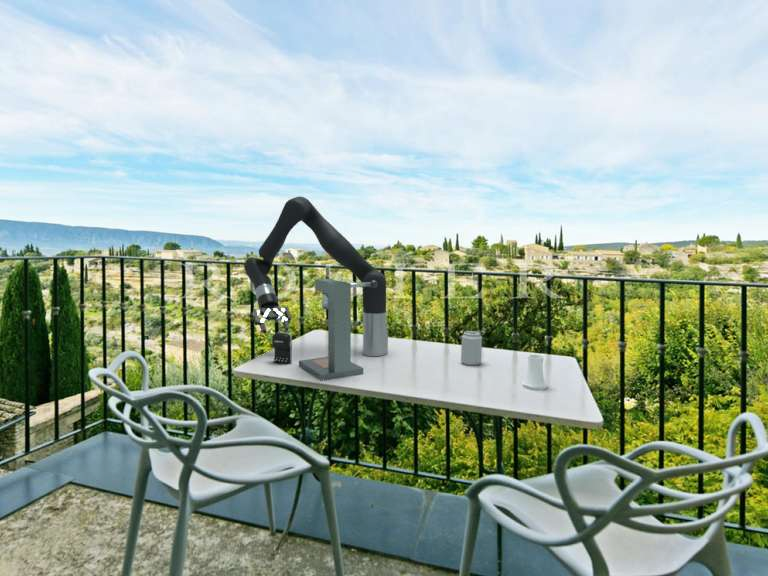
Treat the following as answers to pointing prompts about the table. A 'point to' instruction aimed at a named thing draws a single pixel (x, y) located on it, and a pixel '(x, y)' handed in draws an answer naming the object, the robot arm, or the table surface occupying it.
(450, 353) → the table surface
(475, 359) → the can
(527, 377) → the vase
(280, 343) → the battery charger
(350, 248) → the robot arm
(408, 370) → the table surface
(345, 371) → the press
